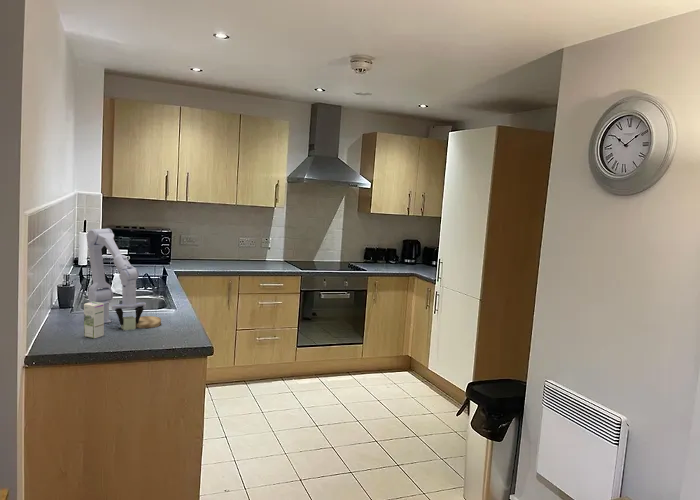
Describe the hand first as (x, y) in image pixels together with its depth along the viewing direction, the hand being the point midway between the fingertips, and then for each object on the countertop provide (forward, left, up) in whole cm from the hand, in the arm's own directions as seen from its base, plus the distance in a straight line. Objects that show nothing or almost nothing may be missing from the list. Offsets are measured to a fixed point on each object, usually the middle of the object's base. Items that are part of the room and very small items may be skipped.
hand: (129, 323), depth 245 cm
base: (+9, +3, -2) cm, 9 cm away
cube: (0, 0, -2) cm, 2 cm away
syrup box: (-16, -7, -2) cm, 18 cm away
